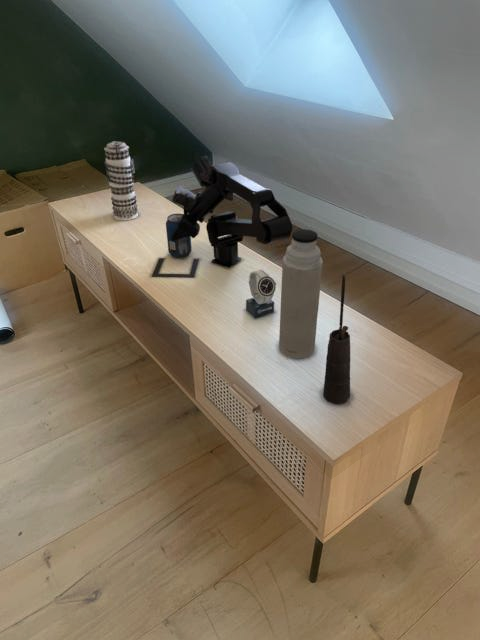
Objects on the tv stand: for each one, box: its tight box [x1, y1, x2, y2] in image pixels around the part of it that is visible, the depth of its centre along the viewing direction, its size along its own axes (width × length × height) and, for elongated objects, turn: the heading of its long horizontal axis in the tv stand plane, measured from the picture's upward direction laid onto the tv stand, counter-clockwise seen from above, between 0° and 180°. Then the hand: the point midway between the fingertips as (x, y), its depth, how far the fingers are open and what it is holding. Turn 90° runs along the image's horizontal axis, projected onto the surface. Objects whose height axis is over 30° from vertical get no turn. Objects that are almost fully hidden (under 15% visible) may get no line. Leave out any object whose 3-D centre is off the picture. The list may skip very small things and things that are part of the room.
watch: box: [245, 269, 277, 319], centre depth 122 cm, size 6×8×11 cm
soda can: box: [165, 213, 192, 260], centre depth 148 cm, size 7×7×12 cm
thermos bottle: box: [278, 228, 324, 360], centre depth 105 cm, size 8×8×28 cm
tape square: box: [151, 257, 200, 278], centre depth 145 cm, size 11×12×1 cm
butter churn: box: [322, 274, 351, 405], centre depth 93 cm, size 9×10×28 cm
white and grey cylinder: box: [103, 140, 139, 221], centre depth 170 cm, size 9×9×25 cm
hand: (174, 234), depth 148 cm, fingers closed on soda can, 7 cm apart
